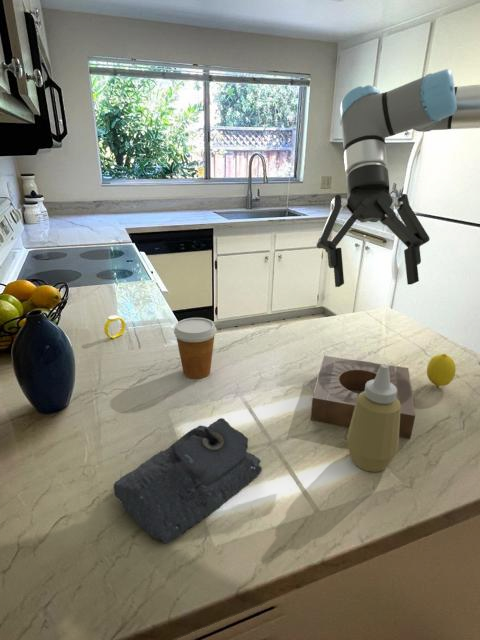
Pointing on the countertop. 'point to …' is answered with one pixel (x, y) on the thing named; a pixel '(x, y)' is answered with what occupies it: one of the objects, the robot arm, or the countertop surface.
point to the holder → (339, 402)
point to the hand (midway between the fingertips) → (376, 284)
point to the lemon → (441, 370)
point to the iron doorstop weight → (188, 480)
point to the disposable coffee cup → (195, 346)
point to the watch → (110, 319)
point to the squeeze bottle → (375, 424)
